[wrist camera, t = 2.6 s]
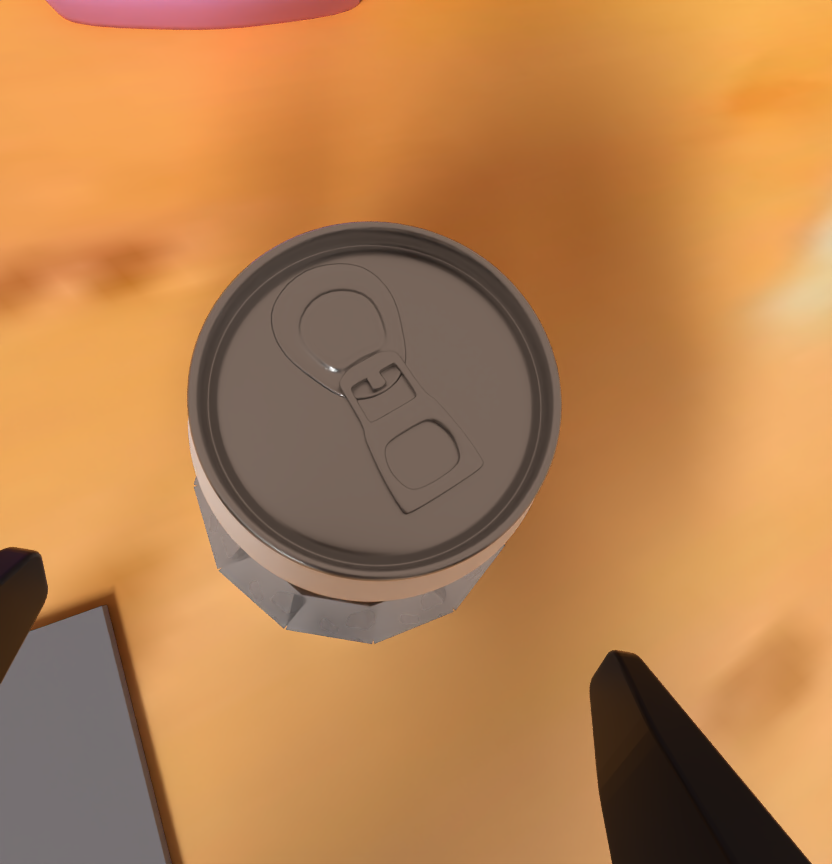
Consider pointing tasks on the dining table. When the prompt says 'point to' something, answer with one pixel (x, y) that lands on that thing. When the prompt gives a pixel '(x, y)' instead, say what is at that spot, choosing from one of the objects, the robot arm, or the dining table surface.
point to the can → (372, 410)
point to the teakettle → (195, 12)
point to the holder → (322, 611)
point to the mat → (74, 753)
